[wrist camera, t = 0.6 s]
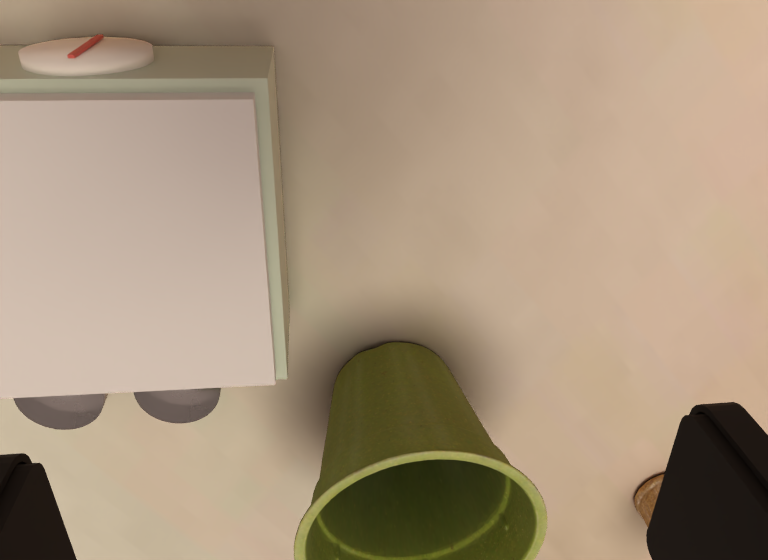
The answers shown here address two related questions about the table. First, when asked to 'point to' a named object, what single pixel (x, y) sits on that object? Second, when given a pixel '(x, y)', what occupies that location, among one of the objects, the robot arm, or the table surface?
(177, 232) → the scale
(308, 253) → the table surface
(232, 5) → the table surface
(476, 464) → the plant pot
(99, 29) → the table surface
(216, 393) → the spacer
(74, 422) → the spacer
